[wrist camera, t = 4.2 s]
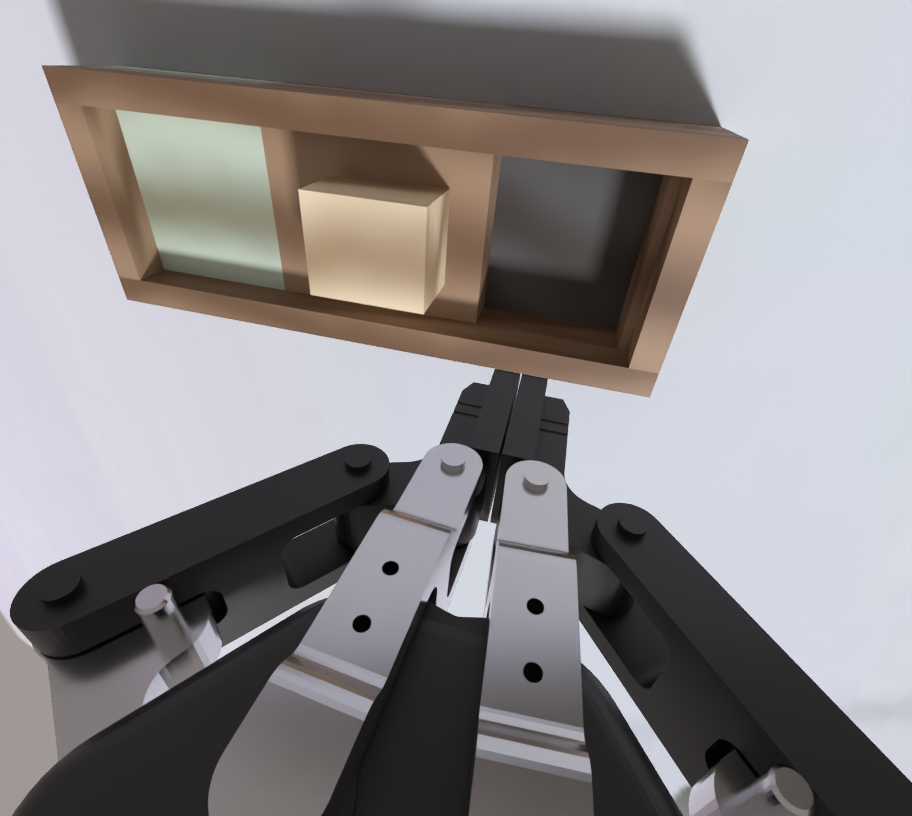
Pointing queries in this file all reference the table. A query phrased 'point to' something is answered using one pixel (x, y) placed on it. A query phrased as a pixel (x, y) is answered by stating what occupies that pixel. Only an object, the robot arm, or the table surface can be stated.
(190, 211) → the box
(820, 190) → the table surface
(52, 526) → the table surface
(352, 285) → the beech block
